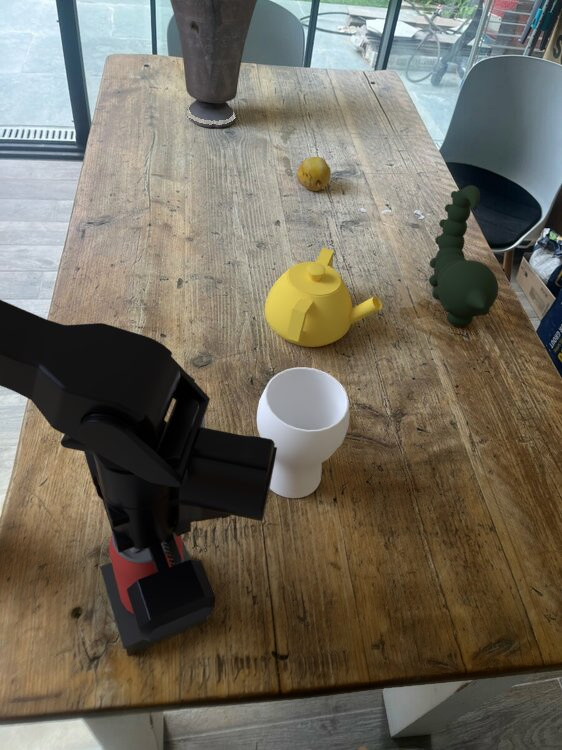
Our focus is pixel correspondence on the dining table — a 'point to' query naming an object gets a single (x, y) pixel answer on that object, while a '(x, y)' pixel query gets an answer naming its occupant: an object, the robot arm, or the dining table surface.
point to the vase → (212, 52)
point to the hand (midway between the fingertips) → (151, 565)
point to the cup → (302, 426)
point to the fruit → (314, 173)
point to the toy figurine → (461, 266)
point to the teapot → (314, 304)
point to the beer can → (134, 566)
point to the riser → (127, 619)
